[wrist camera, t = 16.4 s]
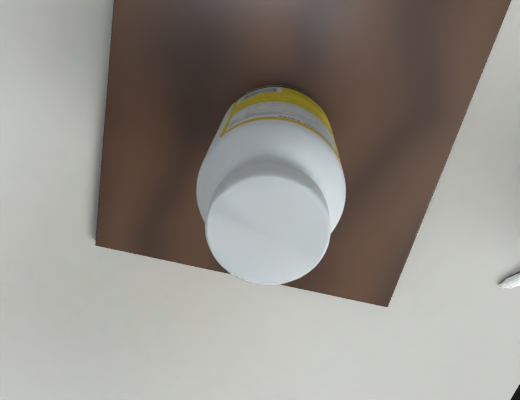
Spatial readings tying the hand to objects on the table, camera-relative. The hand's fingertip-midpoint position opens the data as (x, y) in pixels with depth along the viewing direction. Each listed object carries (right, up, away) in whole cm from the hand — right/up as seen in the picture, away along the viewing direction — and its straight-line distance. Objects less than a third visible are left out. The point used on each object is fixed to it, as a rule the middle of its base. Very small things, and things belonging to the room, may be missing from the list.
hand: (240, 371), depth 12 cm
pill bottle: (+1, +8, +17) cm, 19 cm away
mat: (+1, +8, +17) cm, 19 cm away
